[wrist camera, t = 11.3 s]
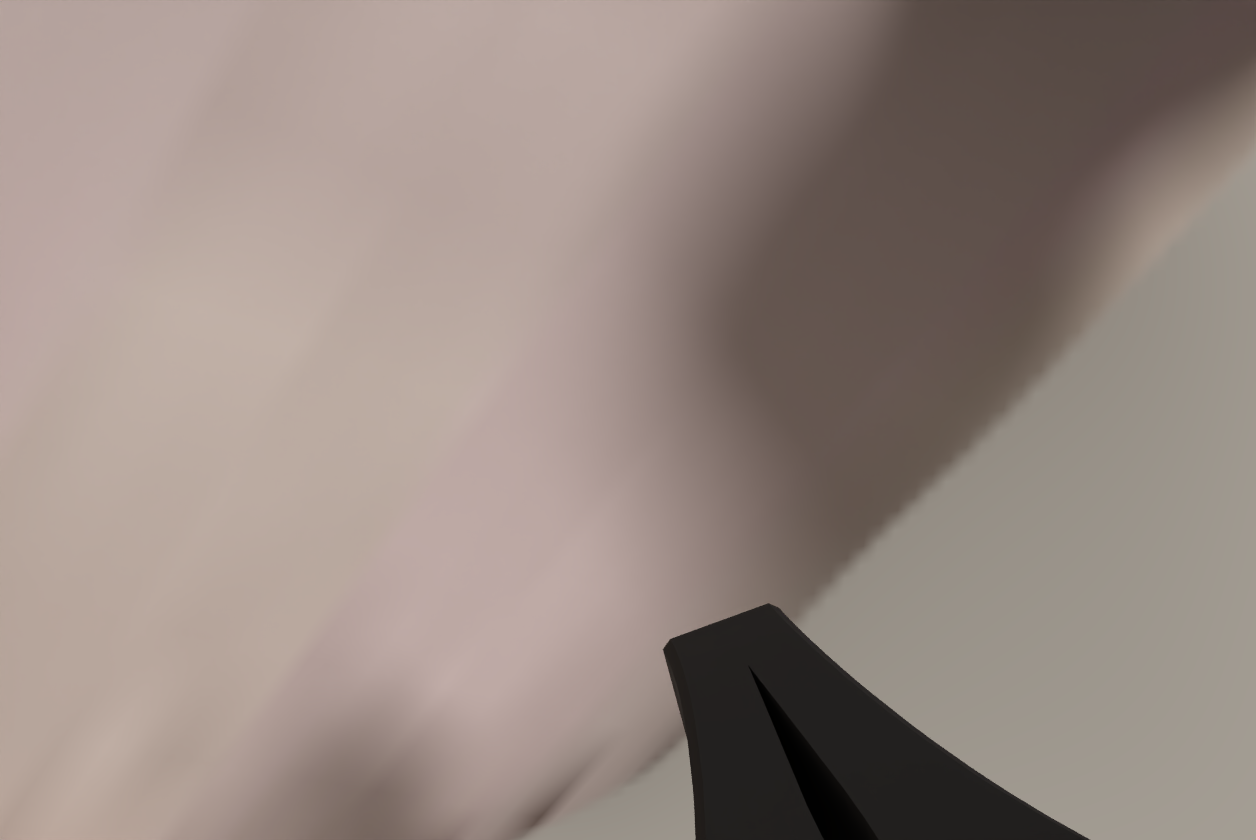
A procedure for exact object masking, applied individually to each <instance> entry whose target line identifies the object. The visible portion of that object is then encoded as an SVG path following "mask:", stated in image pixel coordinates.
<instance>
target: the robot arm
mask: <svg viewBox="0 0 1256 840" xmlns="http://www.w3.org/2000/svg"><path fill="white" fill-rule="evenodd" d="M663 651H664V655H665V659H666V662H667V666H668V670H669V673H670V677H671V681H672V684H673V688H674V692H675V695H676V699H677V703H678V707H679V710H680V714H681V718H682V721H683V725H684V729H685V732H686V736H687V740H688V748H689V757H690V765H691V774H692V784H693V794H694V809H695V835H696V840H1089V839H1088V838H1086V837H1084V836H1082V835H1081V834H1078V833H1077V832H1075V831H1074V830H1072V829H1070V828H1068V827H1066V826H1065V825H1063V824H1061V823H1059V822H1057V821H1056V820H1054V819H1052V818H1050V817H1049V816H1047V815H1045V814H1044V813H1042V812H1040V811H1039V810H1037V809H1035V808H1034V807H1032V806H1031V805H1029V804H1027V803H1026V802H1024V801H1022V800H1020V799H1019V798H1017V797H1016V796H1014V795H1012V794H1011V793H1009V792H1007V791H1006V790H1004V789H1003V788H1001V787H1000V786H998V785H997V784H995V783H994V782H992V781H990V780H989V779H987V778H986V777H984V776H983V775H981V774H980V773H978V772H977V771H975V770H974V769H972V768H971V767H969V766H968V765H967V764H965V763H964V762H962V761H961V760H960V759H958V758H957V757H955V756H954V755H952V754H951V753H949V752H948V751H947V750H945V749H944V748H942V747H941V746H940V745H938V744H937V743H935V742H934V741H933V740H931V739H930V738H928V737H927V736H926V735H924V734H923V733H922V732H921V731H919V730H918V729H916V728H915V727H914V726H912V725H911V724H910V723H909V722H907V721H906V720H905V719H903V718H902V717H901V716H899V715H898V714H897V713H896V712H895V711H893V710H892V709H891V708H889V707H888V706H887V705H886V704H884V703H883V702H882V701H881V700H879V699H878V698H877V697H876V696H874V695H873V694H872V693H871V692H869V691H868V690H867V689H866V688H865V687H863V686H862V685H861V684H860V683H859V682H857V681H856V680H855V679H854V678H852V677H851V676H850V675H849V674H848V673H847V672H846V671H844V670H843V669H842V668H841V667H840V666H839V665H838V664H837V663H835V662H834V661H833V660H832V659H831V658H830V657H829V656H827V655H826V654H825V653H824V652H823V651H822V650H821V649H820V648H819V647H818V646H817V645H815V644H814V643H813V642H812V641H811V640H810V639H809V638H808V637H807V636H806V635H805V634H804V633H803V632H802V631H801V630H800V629H799V628H798V627H797V626H796V625H795V624H794V623H793V622H792V621H791V620H790V619H789V618H788V617H787V616H786V615H785V614H784V613H783V612H782V611H781V610H780V609H779V608H778V607H776V606H773V605H771V604H769V603H768V604H765V605H763V606H760V607H757V608H754V609H752V610H749V611H746V612H743V613H741V614H738V615H735V616H732V617H730V618H727V619H724V620H721V621H719V622H716V623H713V624H710V625H708V626H705V627H702V628H699V629H697V630H694V631H691V632H688V633H686V634H683V635H680V636H677V637H675V638H672V639H670V640H669V642H668V643H667V645H666V646H665V647H664V649H663Z"/></svg>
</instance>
